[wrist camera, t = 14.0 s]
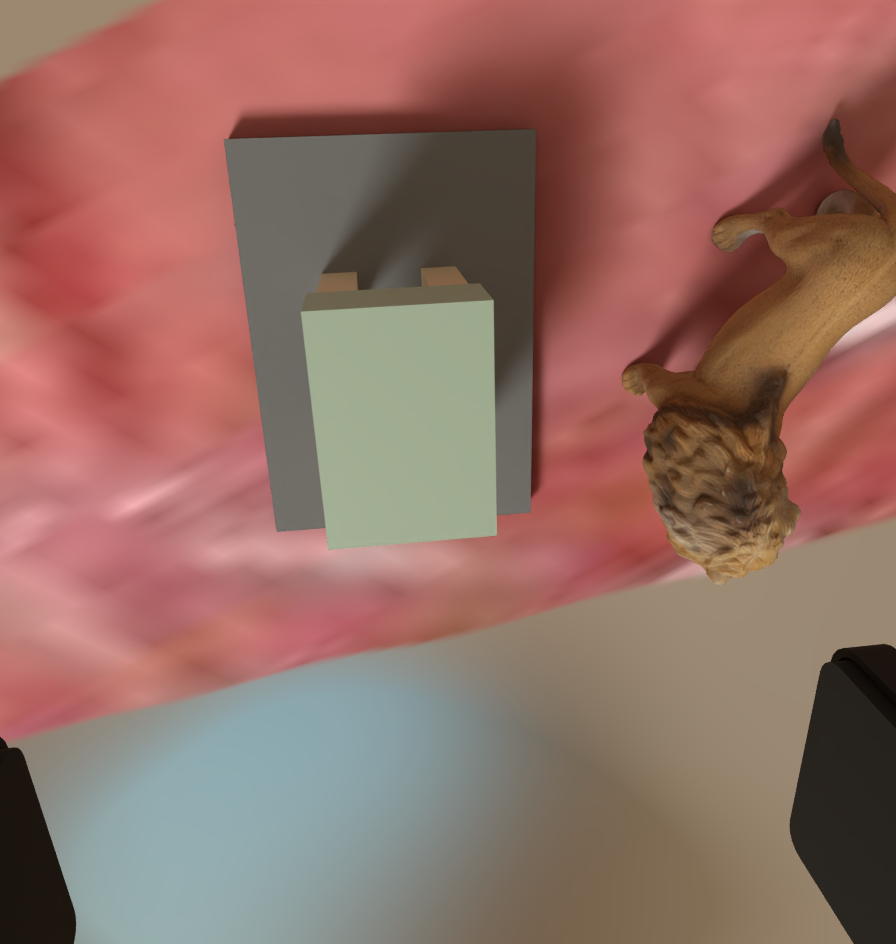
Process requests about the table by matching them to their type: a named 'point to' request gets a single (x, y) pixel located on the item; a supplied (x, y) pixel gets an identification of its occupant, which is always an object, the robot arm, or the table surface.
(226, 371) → the table surface
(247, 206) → the charcoal mat
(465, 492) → the sage stool
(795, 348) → the lion figurine
